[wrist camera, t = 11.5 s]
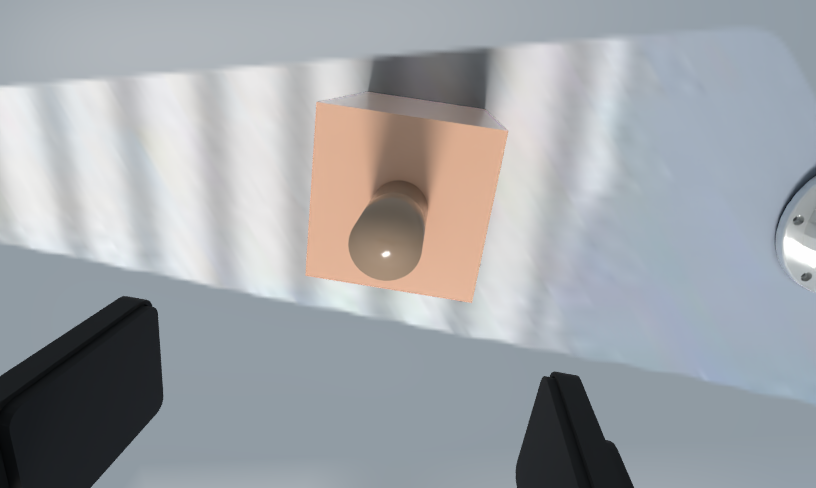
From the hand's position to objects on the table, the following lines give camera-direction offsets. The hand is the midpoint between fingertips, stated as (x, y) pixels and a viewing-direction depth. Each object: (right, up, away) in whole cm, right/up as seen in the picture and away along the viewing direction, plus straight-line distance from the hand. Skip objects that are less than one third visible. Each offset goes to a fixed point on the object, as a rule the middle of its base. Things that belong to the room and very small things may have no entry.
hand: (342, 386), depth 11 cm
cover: (+2, +11, +29) cm, 31 cm away
